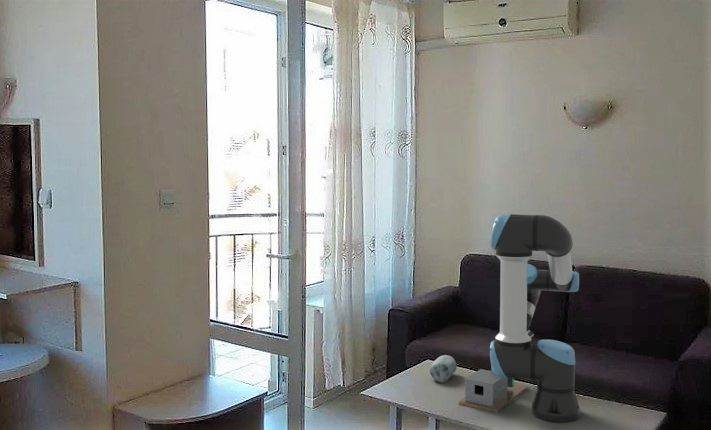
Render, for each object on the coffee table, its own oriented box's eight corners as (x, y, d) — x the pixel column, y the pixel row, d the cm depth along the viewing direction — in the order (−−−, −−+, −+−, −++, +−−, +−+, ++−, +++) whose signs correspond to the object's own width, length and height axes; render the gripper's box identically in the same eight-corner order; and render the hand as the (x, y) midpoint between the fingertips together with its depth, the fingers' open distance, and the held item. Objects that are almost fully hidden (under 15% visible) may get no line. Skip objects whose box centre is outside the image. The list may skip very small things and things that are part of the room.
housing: (491, 381, 259) (491, 357, 258) (528, 388, 251) (528, 364, 250) (458, 404, 237) (458, 378, 236) (497, 412, 229) (497, 386, 228)
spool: (451, 378, 254) (442, 351, 257) (429, 386, 258) (420, 360, 261) (466, 376, 265) (457, 351, 269) (444, 384, 269) (436, 359, 273)
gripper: (541, 322, 262) (524, 378, 250) (508, 318, 269) (490, 372, 257) (536, 311, 257) (518, 368, 245) (503, 307, 264) (484, 362, 252)
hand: (504, 370), depth 251 cm, fingers closed
